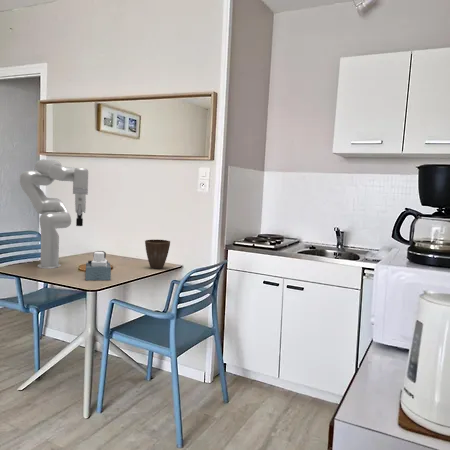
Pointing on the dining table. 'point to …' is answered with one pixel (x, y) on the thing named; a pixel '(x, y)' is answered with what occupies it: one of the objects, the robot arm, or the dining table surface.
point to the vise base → (98, 272)
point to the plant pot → (157, 252)
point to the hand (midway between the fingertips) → (79, 225)
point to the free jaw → (91, 261)
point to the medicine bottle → (99, 259)
